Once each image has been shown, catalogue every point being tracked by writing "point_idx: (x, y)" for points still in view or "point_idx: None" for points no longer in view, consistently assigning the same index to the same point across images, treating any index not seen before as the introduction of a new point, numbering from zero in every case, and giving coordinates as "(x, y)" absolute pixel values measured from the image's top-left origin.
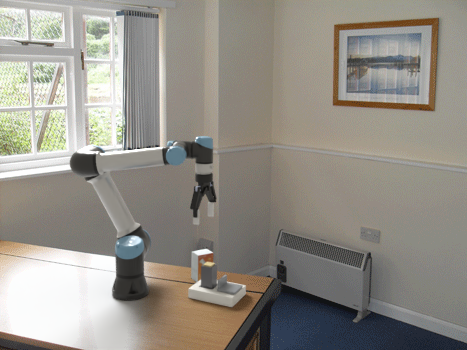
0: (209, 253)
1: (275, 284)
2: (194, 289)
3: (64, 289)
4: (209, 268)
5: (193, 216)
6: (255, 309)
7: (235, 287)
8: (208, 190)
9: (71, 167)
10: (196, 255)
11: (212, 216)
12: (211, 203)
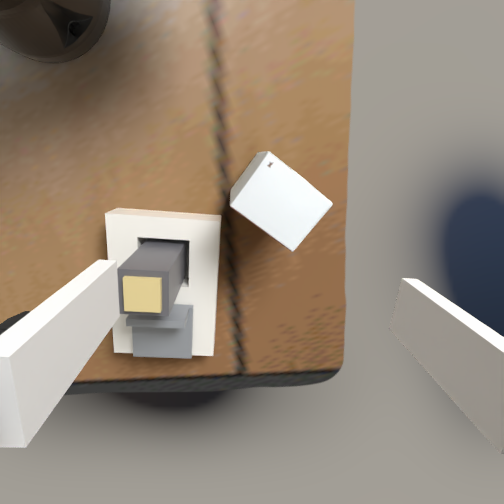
0: (276, 240)
1: (304, 382)
2: (109, 234)
3: None
4: (120, 302)
5: (10, 323)
6: (142, 384)
7: (167, 346)
8: None
9: None
10: (238, 191)
11: (392, 327)
12: (500, 420)
